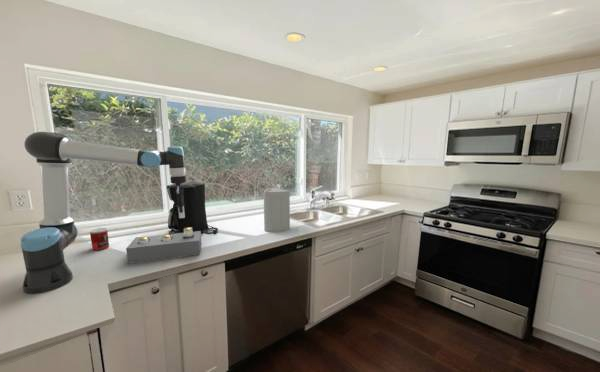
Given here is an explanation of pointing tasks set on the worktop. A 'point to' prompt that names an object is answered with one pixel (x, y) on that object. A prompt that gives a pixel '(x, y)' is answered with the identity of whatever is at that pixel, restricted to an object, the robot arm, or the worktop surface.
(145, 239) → the knob near
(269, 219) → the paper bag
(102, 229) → the canned food
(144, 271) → the worktop surface
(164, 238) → the knob middle
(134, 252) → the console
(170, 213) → the coffee maker
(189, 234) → the knob far
